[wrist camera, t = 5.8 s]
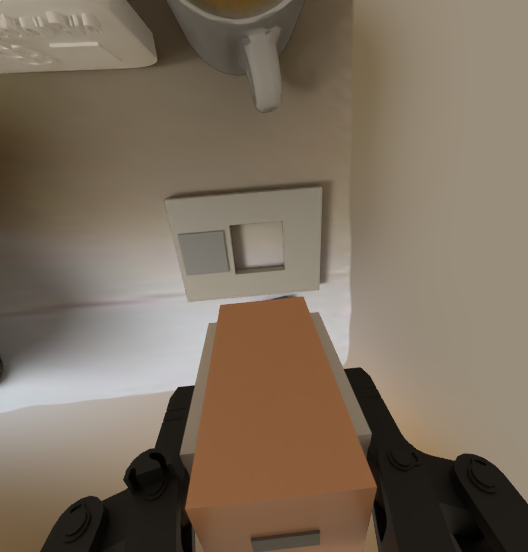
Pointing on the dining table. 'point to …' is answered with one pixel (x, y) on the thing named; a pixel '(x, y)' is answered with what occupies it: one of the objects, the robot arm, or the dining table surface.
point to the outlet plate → (219, 250)
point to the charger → (276, 441)
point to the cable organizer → (72, 36)
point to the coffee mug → (241, 39)
